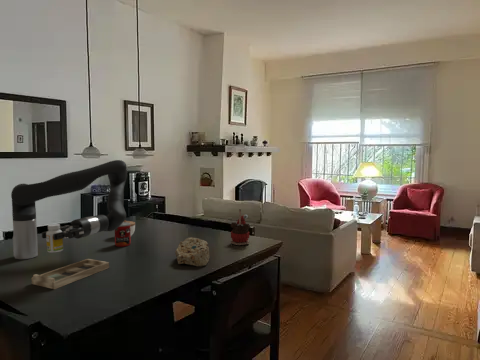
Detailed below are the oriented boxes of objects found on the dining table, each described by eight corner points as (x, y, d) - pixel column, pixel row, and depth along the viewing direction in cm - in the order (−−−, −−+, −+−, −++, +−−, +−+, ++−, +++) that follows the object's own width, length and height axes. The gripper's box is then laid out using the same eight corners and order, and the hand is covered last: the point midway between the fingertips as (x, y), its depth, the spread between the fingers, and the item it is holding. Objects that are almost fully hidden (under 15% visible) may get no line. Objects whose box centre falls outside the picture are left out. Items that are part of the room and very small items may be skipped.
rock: (212, 268, 160) (206, 246, 157) (179, 277, 159) (172, 255, 157) (210, 249, 180) (205, 230, 178) (180, 257, 179) (175, 238, 177)
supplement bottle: (65, 248, 143) (64, 223, 142) (59, 252, 137) (58, 226, 136) (51, 249, 142) (49, 223, 141) (44, 253, 137) (42, 226, 136)
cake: (226, 244, 195) (226, 209, 193) (235, 240, 203) (235, 207, 201) (245, 247, 190) (245, 211, 188) (253, 242, 198) (253, 208, 196)
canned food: (114, 247, 189) (114, 225, 188) (115, 243, 196) (114, 222, 195) (130, 246, 191) (130, 224, 190) (130, 242, 198) (130, 221, 197)
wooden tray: (31, 284, 138) (31, 274, 138) (87, 264, 162) (87, 256, 162) (54, 289, 133) (54, 279, 133) (109, 267, 157) (108, 259, 156)
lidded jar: (138, 234, 216) (137, 218, 215) (131, 239, 205) (130, 222, 204) (120, 234, 217) (119, 218, 216) (112, 238, 206) (111, 221, 205)
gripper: (71, 216, 155) (34, 224, 140) (98, 219, 149) (61, 227, 133) (72, 234, 156) (35, 244, 140) (98, 237, 149) (62, 248, 134)
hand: (48, 236), depth 137 cm, fingers closed on supplement bottle, 5 cm apart
